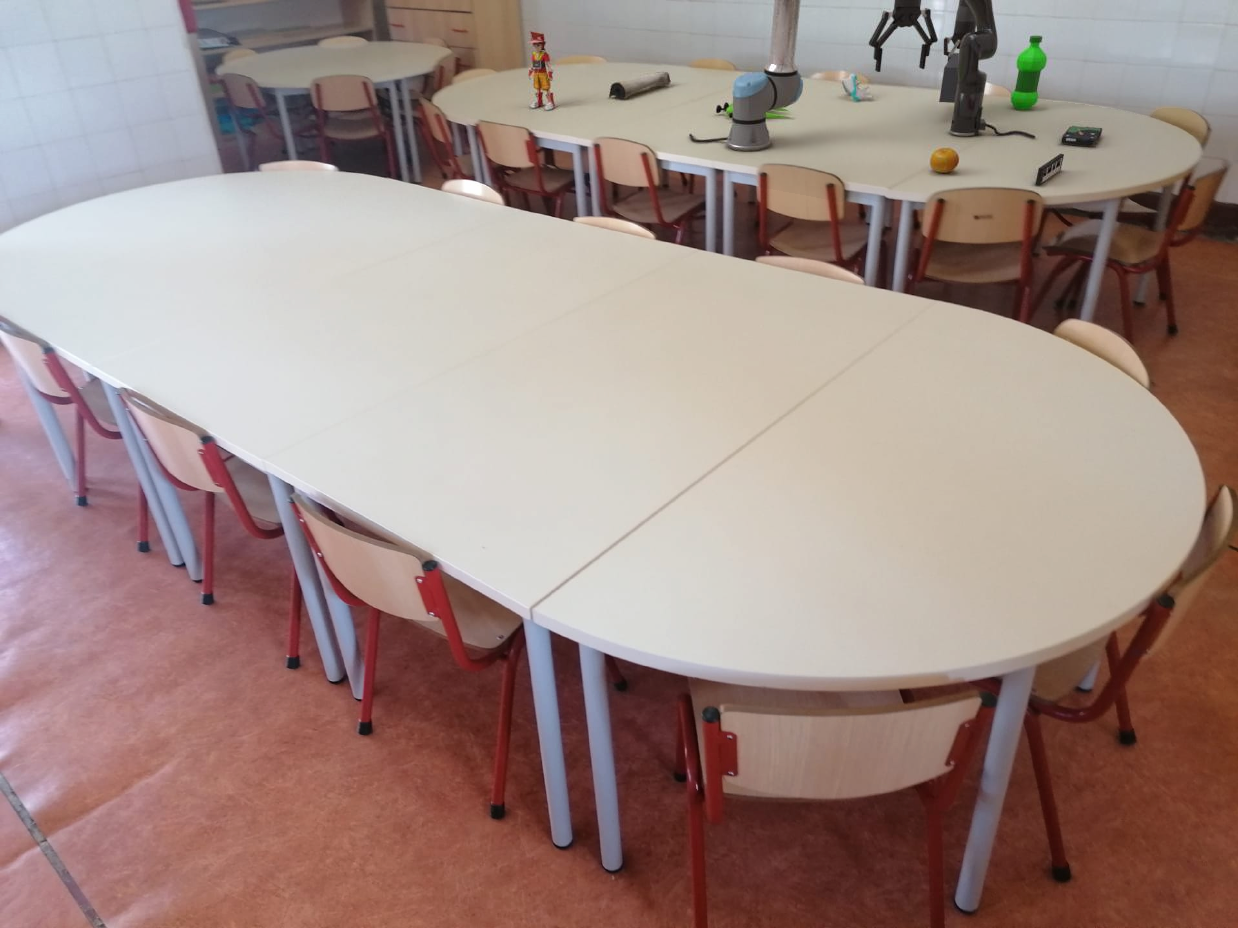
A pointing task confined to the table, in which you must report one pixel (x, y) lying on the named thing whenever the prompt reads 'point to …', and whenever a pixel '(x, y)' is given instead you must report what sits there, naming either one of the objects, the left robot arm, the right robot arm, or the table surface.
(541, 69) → the toy
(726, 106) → the toy
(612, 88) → the rolled mat
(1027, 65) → the plastic bottle
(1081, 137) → the disk drive
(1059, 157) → the midi keyboard
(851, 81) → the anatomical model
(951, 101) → the box
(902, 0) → the left robot arm
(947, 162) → the fruit
